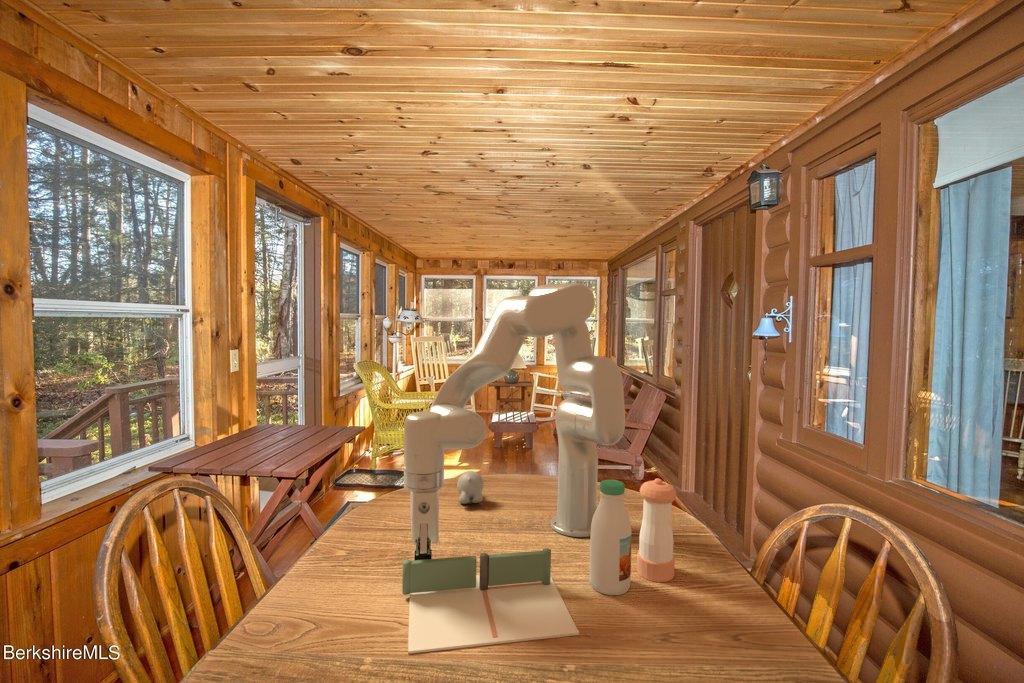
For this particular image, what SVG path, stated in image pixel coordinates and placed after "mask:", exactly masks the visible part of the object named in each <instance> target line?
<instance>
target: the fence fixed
mask: <svg viewBox="0 0 1024 683" xmlns="http://www.w3.org/2000/svg"><path fill="white" fill-rule="evenodd" d="M551 570H552V549H551V548H548V547H547V548H542V550H532V551H522V552H508V553H496V554H495V553H494V554H493V553H492V554H491V553H490V554H489V553H486V552H482V553H480V555H479V575H480V587H479V589H480V590H481V591H482V590H488V586H497V585H509V584H520V583H531V582H542V583H543V585H550V577H551V578H552V576H551Z"/></svg>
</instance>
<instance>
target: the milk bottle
mask: <svg viewBox="0 0 1024 683" xmlns="http://www.w3.org/2000/svg"><path fill="white" fill-rule="evenodd" d="M625 489H626V486H625V483H624V481H620V480H617V479H603V480H601V481H600V484H599V494H600V498H599V500H600V501H598V502H599V503H598V504H597V509H596V511H595V513H594V515H593V518H592V523H591V536H589V537H590V541H589V542H590V544H589V569H588V570H589V571H588V573H589V575H588V576H589V578H588V579H589V585H590V586H591V588H592V589H593V590H595V591H596V592H598V593H600V594H603V595H606V596H620V595H623V594H625V593H627V592H628V591H629V589H630V587H631V574H632V571H631V570H632V569H631V568H632V523H631V520H630V517H629V513H628V512H627V509H626V506H625V503H624V497H625Z"/></svg>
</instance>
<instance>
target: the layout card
mask: <svg viewBox="0 0 1024 683" xmlns="http://www.w3.org/2000/svg"><path fill="white" fill-rule="evenodd" d="M479 587H480V574H476V587H475V588H464V589H453V590H441V591H430V592H419V593H410V594H409V609H408V613H409V614H408V640H407V642H408V643H407V644H408V645H407V654H409V655H411V654H421V653H427V652H439V651H447V650H455V649H464V648H474V647H483V646H491V645H499V644H509V643H519V642H525V641H526V642H528V641H537V640H545V639H546V640H547V639H554V638H561V637H562V638H564V637H570V636H571V637H572V636H579V635H580V632H579V630H578V628H577V626H576V623H575V621H574V620H573V618H572V615H571V614H570V612H569V610H568V607H567V606H566V604H565V602H564V600H563V598H562V596H561V594H560V592H559V590H558V587H557V586H556V584H555V582H554V580H553V578H552V576H551V577H550V585H543V583H542V582H531V583H520V584H509V585H497V586H488V590H482V591H481V590H480V589H479Z"/></svg>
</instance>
